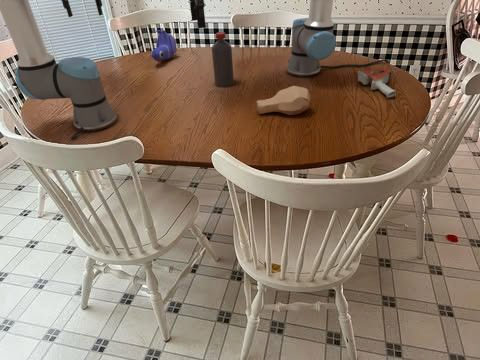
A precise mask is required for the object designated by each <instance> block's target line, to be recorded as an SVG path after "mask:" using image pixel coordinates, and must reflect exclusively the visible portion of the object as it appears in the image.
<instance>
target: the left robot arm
mask: <svg viewBox="0 0 480 360" xmlns="http://www.w3.org/2000/svg"><path fill="white" fill-rule="evenodd" d="M60 1H61V3H62V6H63V8H64V9H65V10H66V13H67V16H68V18H71V17H73V16H74V15H73V12H72V8H71V5H70V2H69V0H60ZM94 2H95V5H96V9H97V12H98V16H102V15H103V13H104V12H103V9H102V7H103V1H102V0H94ZM0 14H1V17H2V18H3V21H4V24H5V26H6V29H7V30H8V33H9V35H10V38H11V41H12V43H13V45H14V48H15V50H16V52H17V55H18V57H19V59H18V60H17V62H16V65H17V67H16V68H15V70H14V76H15V77H14V80H15V84H16V86H17V87H18V89H19V90H20V92H21V94H23V95H24V96H25V97H26V98H29V99H31V100H41V101H44V100H45V101H47V100H59V99H69V100H70V101H71V104H72V108H73V114H72V117H73V118H72V119H73V125H74V128H75V129H76V131H75V133H74V134H73V135H72V136H71V137H70V139H71V140H75V138H76V137H77V136H78V135H79V134H80V133H81V132H84V133H92V132H99V131H102V130H105V129H107V128H110V127H111V126H113V125H115V124H116V122H117V121H118V116H117V113H116V111H115V110H114V108H113V107H112V105H111V103H110V102H109V101H108V99H107V96H106V92H105V89H104V87H103V86H104V85H103V83H102V79H101V73H100V71H99V69H98V66H97V64H96V62H95V61H94V60H92V59H90V58H88V57H84V56H83V57H82V56H70V57H65V58H62V59H60V60H59V61H58V63H57V61H56V59H55V56H54V55H53V54H51V53H49V52H48V51H47V47H46V45H45V42H44V39H43V36H42V34H41V31H40V28H39V26H38V23H37V20H36V18H35V14H34V12H33V9H32V6H31V3H30V1H29V0H0Z"/></svg>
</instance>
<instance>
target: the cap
mask: <svg viewBox="0 0 480 360" xmlns="http://www.w3.org/2000/svg"><path fill="white" fill-rule="evenodd" d="M225 38H226V32H224V31H218V32H216V33H215V39H217V40H218V39H224V40H225Z"/></svg>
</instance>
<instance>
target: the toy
mask: <svg viewBox="0 0 480 360" xmlns="http://www.w3.org/2000/svg"><path fill="white" fill-rule="evenodd" d="M155 33H158V34H157V38H156V42H155V43H156V45H155V48H151V50H152V51H151V53H150V56H151V58H152V59H153V60H154V61H155V62H157V64H158V65H159V66H161V63H162V61H166V60H169V59H171V58H173V57H174V55H175V54H176V53H177V50H178V45H177V41H176V39H175V37H174V36H173V35H172V34H171V33H168V32H166V30H164V29H157V30H155Z"/></svg>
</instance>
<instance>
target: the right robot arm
mask: <svg viewBox="0 0 480 360" xmlns="http://www.w3.org/2000/svg"><path fill="white" fill-rule="evenodd" d="M188 1H189V8H190V15H191V16H190V17H191V21H192V22H193V21H195V22H196V23H197V29H206V28H207V25H206V16H205V15H206V14H205V6H206V4H205V0H188ZM333 4H334V0H310V1H309V12H308V17H303V18H296V19H294V20H293V22H292V27H291V56H290V58H289V59H288V60H287V63H288V64H287V67H286V73H287V74H288V75H290V76H292V77H297V78H309V77H314V76H317V75H319V74H320V73H321V69H339V68H343V67H344V68H345V67H354V68H355V67H359V68H360V67H367V66H371V65H374V64H375V65H376V64H379V63H383V62H385V63H387V64H390V61H389V59H385V58H384V59H383V58H382V59H380V60H376V61H375V60H374V61H371V62H368V63H363V64H355V63H354V64H352V63H350V64H339V65H321V64H320V61H322V60H325V59H327V58H329V57H330V56H331V55H332V54H333V53H334V51H335V49H336V44H337V41H336V37H335V35H334V28H335V22H334V21H333V20H332V12H333Z"/></svg>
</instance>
